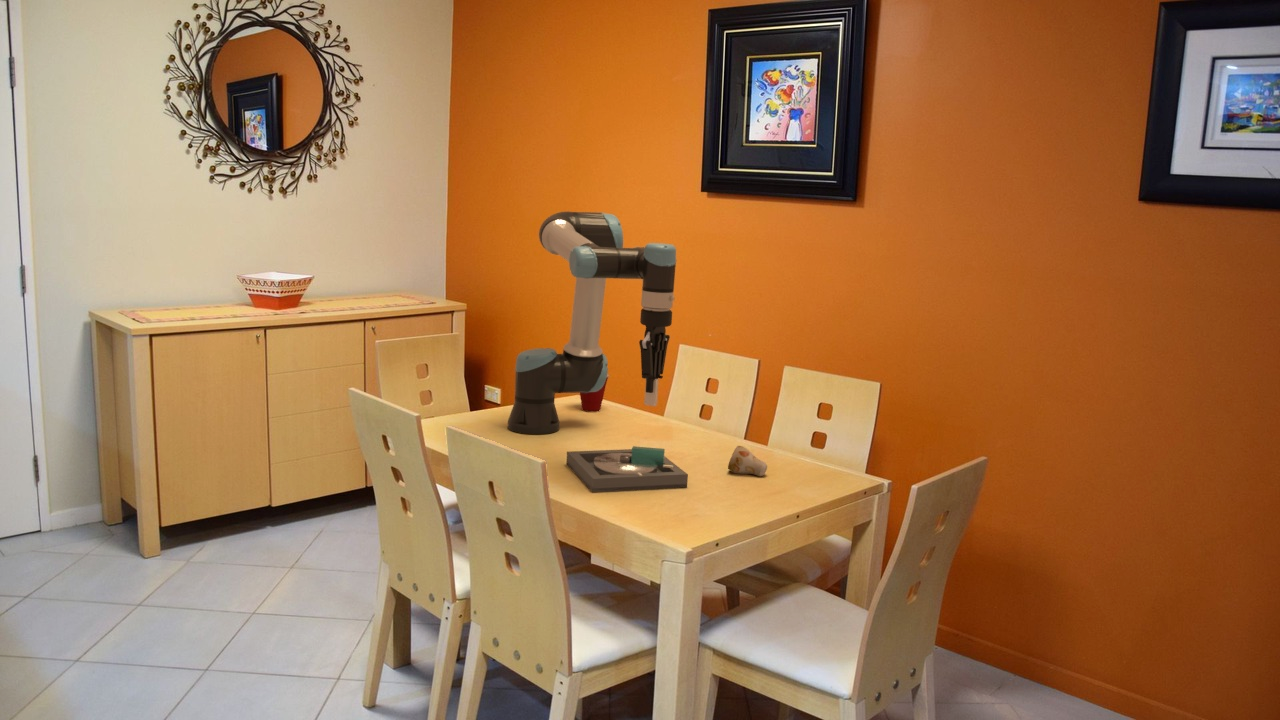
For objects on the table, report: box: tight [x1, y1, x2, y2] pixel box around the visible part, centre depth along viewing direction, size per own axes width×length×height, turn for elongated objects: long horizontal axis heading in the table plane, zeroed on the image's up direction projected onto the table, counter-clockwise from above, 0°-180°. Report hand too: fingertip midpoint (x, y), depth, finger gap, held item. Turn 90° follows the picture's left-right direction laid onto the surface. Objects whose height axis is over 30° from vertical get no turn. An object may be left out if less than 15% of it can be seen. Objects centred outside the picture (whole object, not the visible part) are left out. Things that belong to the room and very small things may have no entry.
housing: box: [566, 448, 689, 494], centre depth 243 cm, size 24×24×4 cm
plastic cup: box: [579, 373, 610, 412], centre depth 313 cm, size 11×11×12 cm
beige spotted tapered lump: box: [727, 445, 768, 477], centre depth 251 cm, size 8×10×10 cm
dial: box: [593, 445, 666, 475], centre depth 243 cm, size 18×16×6 cm
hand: (650, 404), depth 236 cm, fingers closed
